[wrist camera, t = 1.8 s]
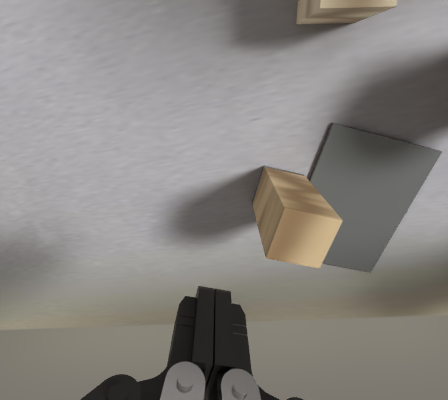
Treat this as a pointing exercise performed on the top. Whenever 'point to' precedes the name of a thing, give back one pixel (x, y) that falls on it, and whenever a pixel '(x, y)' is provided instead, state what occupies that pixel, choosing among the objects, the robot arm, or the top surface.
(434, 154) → the mat
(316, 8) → the maple block
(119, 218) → the top surface
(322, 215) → the oak block
